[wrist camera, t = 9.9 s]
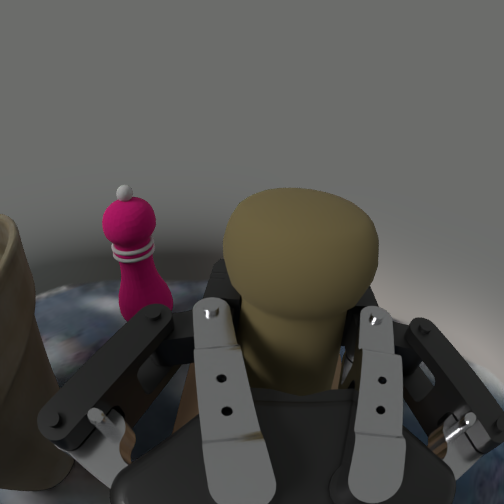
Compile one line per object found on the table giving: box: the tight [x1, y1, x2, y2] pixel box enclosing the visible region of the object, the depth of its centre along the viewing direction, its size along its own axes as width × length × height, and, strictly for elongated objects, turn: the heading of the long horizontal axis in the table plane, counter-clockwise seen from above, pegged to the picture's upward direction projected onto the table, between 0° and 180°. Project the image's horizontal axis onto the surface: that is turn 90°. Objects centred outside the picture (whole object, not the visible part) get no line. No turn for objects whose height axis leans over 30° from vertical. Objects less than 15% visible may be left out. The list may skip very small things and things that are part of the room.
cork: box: [223, 188, 379, 396], centre depth 11 cm, size 6×6×11 cm
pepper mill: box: [102, 185, 173, 322], centre depth 30 cm, size 7×7×20 cm
